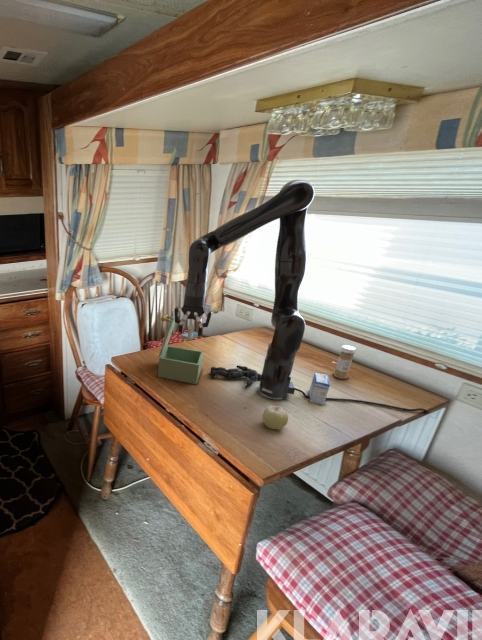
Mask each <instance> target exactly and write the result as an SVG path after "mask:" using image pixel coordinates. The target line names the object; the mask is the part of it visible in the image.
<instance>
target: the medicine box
mask: <svg viewBox="0 0 482 640" xmlns="http://www.w3.org/2000/svg"><path fill="white" fill-rule="evenodd" d="M330 386H331V384H330V380H329V375H328V374H325V373H324V374H323V373H319V372H314V374H313V377H312V380H311V382H310V386H309V389H308V396H309V397H310V399H309V402H310V403H313V404H317V405H325V402H326V400H325V399H326V398H327V395H328V393H329V390H330Z"/></svg>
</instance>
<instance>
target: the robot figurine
mask: <svg viewBox="0 0 482 640" xmlns="http://www.w3.org/2000/svg"><path fill="white" fill-rule="evenodd" d="M216 376H220V377H223V378H224V379H226V380H238V379H242V378H247V380H246V385H245V386H244V388H245V389H247V388H248V387H250V386H252V385H253V383H254V381H259V382H260V380H261V376H262V373H261V374H260V373H259V372H258V371H256V370H255V369H251V368H249V367H247V366H243V365H236V368H229V369H227V368H225V367H221V366H218V367H216V366H211V367H210V378H211V379H215V377H216Z"/></svg>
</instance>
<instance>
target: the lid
mask: <svg viewBox="0 0 482 640" xmlns="http://www.w3.org/2000/svg"><path fill="white" fill-rule="evenodd" d="M160 321H161V322H167V323H168V327H167V329H166V332H165V335H164V339H163V342H162V345H161V348H160V351H159V354H158V357H159V358H160V357H161V355H162V354H163V352H164V350H165V348H166V347H167V346H169V342H170V339H171V336H172V333H173V330H174V327H175V324H176V323H175V313H174V314H173V316H170V315H168V314H167V313H163V315H162V316H161V318H160Z"/></svg>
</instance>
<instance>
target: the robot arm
mask: <svg viewBox="0 0 482 640" xmlns="http://www.w3.org/2000/svg"><path fill="white" fill-rule="evenodd" d="M314 198H315V189H314V186H313V184H311V183H310V182H309V181H306V180H304V179H293V180H290V181H288V182H286V183H285V184H284V185H282V187H281V188H280V191H279V192H278V193H276V194H275V195H273V197H271V198H270V199H268V200H267V201H265V202H263V203H262V204H260V205H259V206H256V207H254V208H253V209H250V210H248V211H245V212H244V213H242V214H240V215H238V216H236V217H234V218H233V219H230V220H228V221H227V222H225V223H223V224H222V225H220V226H218V227H217V228H215V229H214V230H212V231H210V232H207V233H206V234H204V235H202V236H200V237H198V238H196V239H195V240H193V241H192V243H191V244H190V247H189V250H188V270H187V275H186V276H187V277H186V283H185V287H184V297H183V305H182V307H179V306H176V307H174V314H175V324H178V333H179V334H180V335H181V334H184V333H183V332H184V325H185V324H184V323H185V321H187V320H193V321H196V323H197V324H198V331H197V332H198V337H197V338H199V337H201V336H202V335H203V331H204V328H208V327H209V325H210V321H211V317H212V314H213V311H212V310H206V309H205V303H206V295H207V283H208V275H209V268H208V265H209V260H210V254H212V253H214V252H215V251H217V250H220V249H221V248H224V247H227V246H229V245H232V244H233V243H235V242H237V241H238V240H240V239H243V238H244V237H246V236H247V235H249V234H251V233H252V232H255V231H257V230H258V229H260V228H261V227H263V226H266V225H268V224H270V223H272V222H275V221H276V220H278V219H279V229H278V230H279V231H278V234H277V235H278V236H277V241H276V250H275V259H274V300H273V306H272V312H271V319H270V321H271V322H270V323H271V326H272V328H273V330H274V331H273V335H272V338H271V341H270V342H269V343H268V344H267V349H266V353H265V356H264V357H265V358H264V362H263V368H262V372H261V375H262V376H261V380H260V381H259V385H258V388H257V390H258V391H257V392H258V393H259V395H261V396H262V397H264V398H266V399H270V400H274V401H281V400H283V401H286V399H287V396H288V395H295V391H297V392H299V393H300V394H302V396H303V397H304V398H307V399H309V400H310V397H309V395H307V394H306V393H305V392H304V390H301V389H300V388H296V387H295V385H294V383H293V382H292V381H291V380H292V370H293V367H294V363H295V359H296V356H297V352H299V350H300V347H301V346H302V341H303V339H304V335H305V331H306V322H305V321H306V320H305V319H304V318H303V316H301V314H300V312H299V294H300V289H301V287H302V286H303V285H302V284H303V283H304V280H305V277H306V274H307V268H308V255H309V253H308V251H309V250H308V238H307V230H306V229H307V228H306V222H307V214H308V208H309V206H310V205H311V203H312V202H313V200H314ZM181 312H182V314H183V317H182V318H181V319H180V313H181ZM203 315H205V318H206V319H205V322H203V318H202V316H203ZM325 401H340V402H341V401H342V402H353V403H354V402H356V403H361V404H367V405H373V406H374V405H375V406H380V407H386V408H389V409H394V410H400V411H406V412H417V411H423V412H424V413H426V414H429V411H428V410H427V409H425V408H422V407H419V408H405V407H399V406H396V405H395V406H394V405H391V404H386V403H379V402H374V401H368V400H362V399H361V400H360V399H353V398H352V399H351V398H338V397H337V398H334V397H326V399H325Z"/></svg>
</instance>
